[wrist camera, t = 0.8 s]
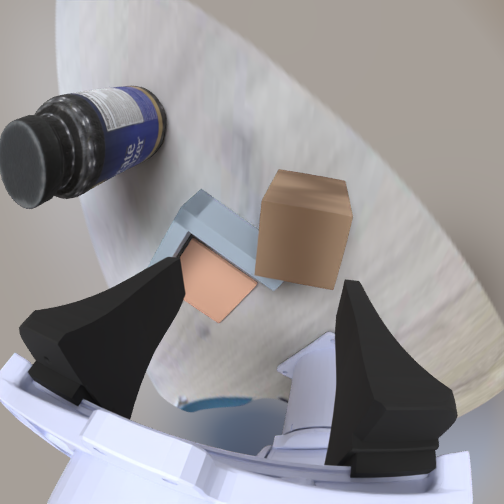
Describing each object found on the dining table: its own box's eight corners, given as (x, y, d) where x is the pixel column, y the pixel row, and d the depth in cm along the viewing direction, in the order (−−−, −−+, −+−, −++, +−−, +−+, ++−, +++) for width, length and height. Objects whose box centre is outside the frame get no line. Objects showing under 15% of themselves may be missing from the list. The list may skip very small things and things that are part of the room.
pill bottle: (133, 176, 22) (32, 242, 13) (93, 122, 20) (-17, 163, 11) (185, 127, 19) (73, 173, 10) (138, 68, 17) (14, 80, 8)
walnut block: (344, 180, 19) (352, 217, 14) (332, 239, 21) (333, 290, 16) (278, 169, 19) (261, 200, 14) (271, 228, 22) (254, 275, 17)
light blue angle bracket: (290, 253, 22) (284, 280, 20) (214, 330, 29) (203, 356, 26) (201, 188, 21) (181, 206, 18) (145, 283, 28) (128, 306, 25)
